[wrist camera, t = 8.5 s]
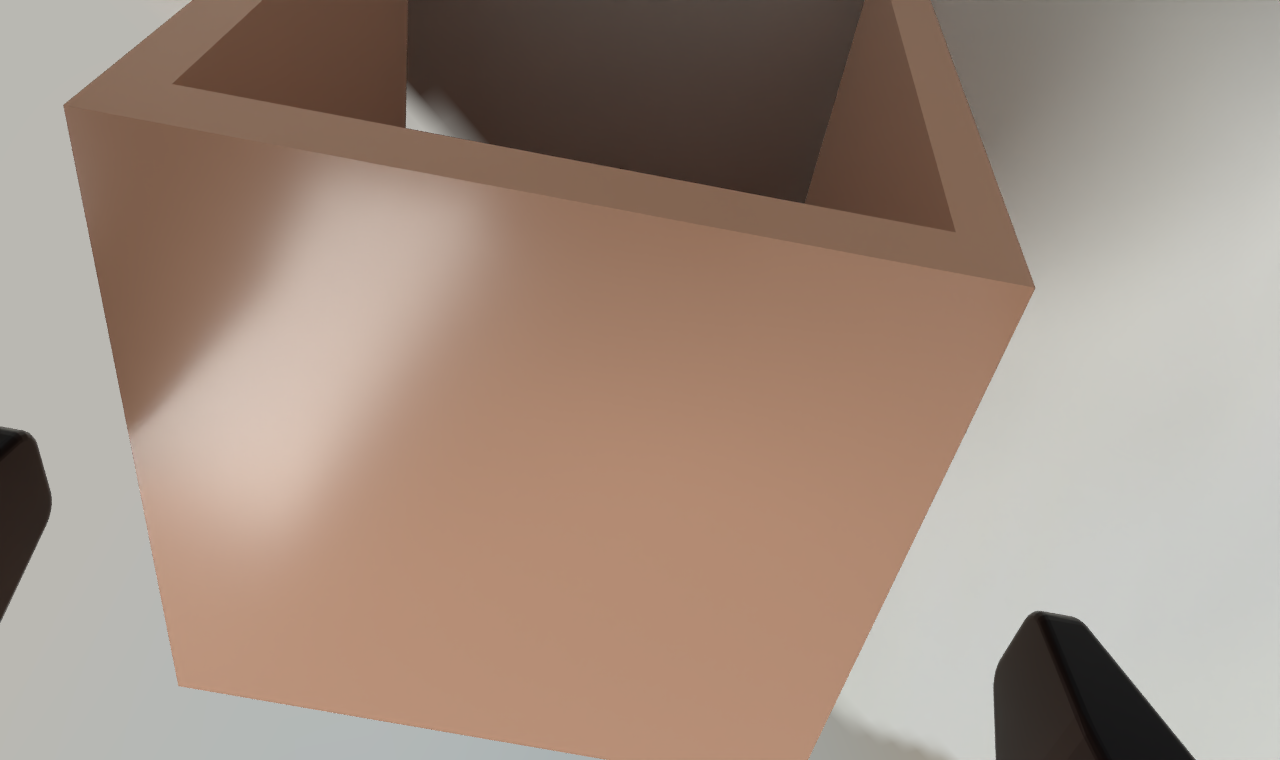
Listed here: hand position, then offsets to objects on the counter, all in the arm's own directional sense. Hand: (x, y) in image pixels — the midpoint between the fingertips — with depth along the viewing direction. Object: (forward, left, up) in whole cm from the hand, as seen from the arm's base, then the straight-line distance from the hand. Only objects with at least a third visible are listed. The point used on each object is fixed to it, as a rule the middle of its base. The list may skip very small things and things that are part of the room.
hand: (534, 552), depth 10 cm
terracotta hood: (0, 0, -8) cm, 8 cm away
